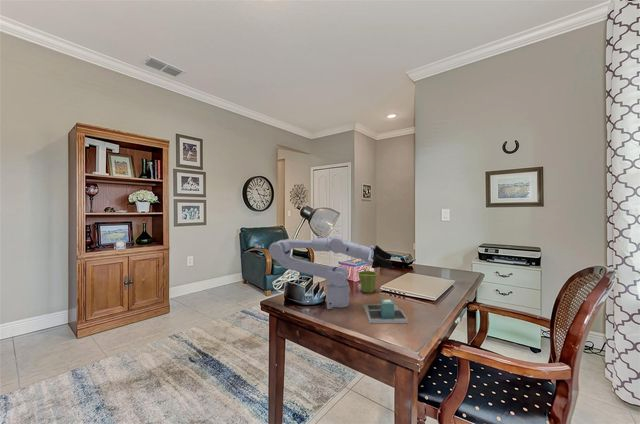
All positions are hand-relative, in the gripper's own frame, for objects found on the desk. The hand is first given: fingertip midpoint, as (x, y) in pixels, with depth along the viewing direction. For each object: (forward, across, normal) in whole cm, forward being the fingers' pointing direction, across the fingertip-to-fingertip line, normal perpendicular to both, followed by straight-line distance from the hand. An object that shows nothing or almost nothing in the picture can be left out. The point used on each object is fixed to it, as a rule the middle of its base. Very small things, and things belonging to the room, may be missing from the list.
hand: (391, 261), depth 105 cm
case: (+3, -15, +17) cm, 22 cm away
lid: (+1, -6, +19) cm, 20 cm away
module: (+3, -14, +16) cm, 22 cm away
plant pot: (-4, +15, +25) cm, 29 cm away
